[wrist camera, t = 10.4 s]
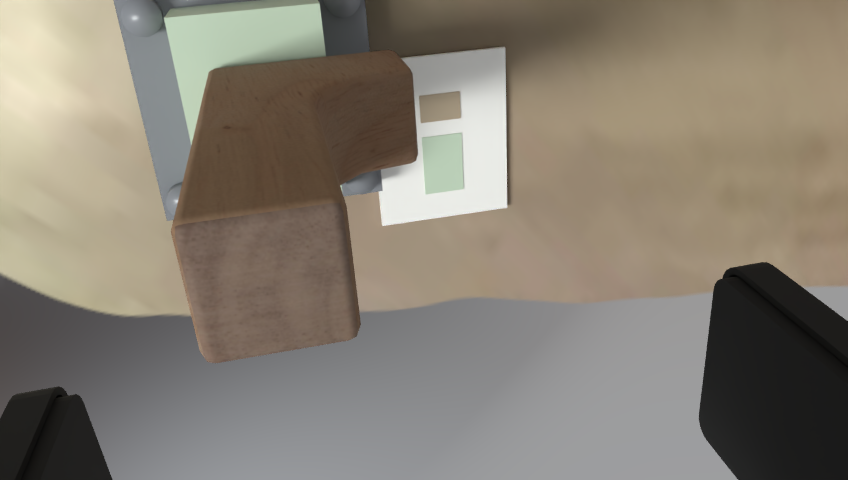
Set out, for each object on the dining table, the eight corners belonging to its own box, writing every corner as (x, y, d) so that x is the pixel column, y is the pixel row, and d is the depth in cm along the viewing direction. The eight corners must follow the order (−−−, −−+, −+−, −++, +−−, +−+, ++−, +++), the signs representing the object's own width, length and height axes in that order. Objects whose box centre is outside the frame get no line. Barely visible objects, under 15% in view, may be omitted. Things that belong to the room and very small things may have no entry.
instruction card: (503, 46, 41) (505, 47, 41) (505, 205, 46) (507, 208, 46) (366, 61, 40) (367, 62, 40) (381, 223, 45) (382, 226, 44)
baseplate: (356, -34, 38) (370, -25, 33) (377, 178, 43) (391, 211, 39) (118, -14, 36) (99, 0, 32) (170, 206, 41) (161, 244, 37)
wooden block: (395, 47, 35) (513, 175, 19) (402, 135, 37) (514, 317, 21) (206, 67, 34) (165, 223, 18) (224, 158, 36) (202, 371, 20)
